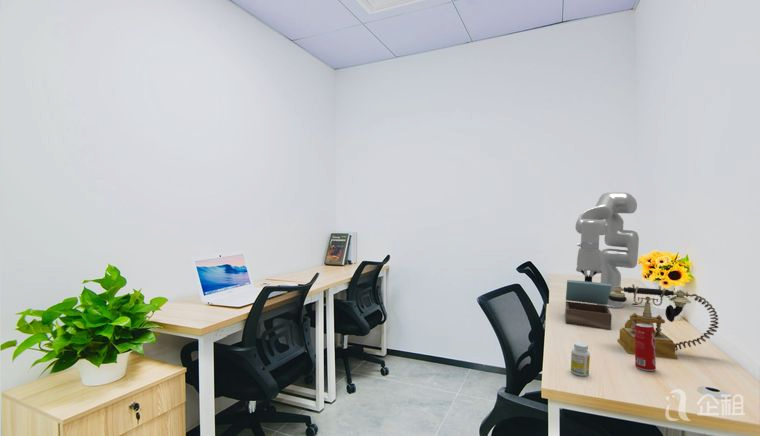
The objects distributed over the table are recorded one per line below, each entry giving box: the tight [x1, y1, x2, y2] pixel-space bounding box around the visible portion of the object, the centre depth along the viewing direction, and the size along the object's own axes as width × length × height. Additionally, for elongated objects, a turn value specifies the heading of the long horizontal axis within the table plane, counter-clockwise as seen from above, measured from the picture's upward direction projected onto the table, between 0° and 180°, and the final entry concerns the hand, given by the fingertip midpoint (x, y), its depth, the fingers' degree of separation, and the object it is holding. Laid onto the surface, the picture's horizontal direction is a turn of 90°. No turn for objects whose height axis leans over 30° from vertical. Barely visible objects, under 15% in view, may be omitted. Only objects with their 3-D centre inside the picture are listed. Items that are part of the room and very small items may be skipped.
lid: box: [565, 279, 611, 305], centre depth 181 cm, size 16×18×1 cm
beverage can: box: [634, 323, 657, 372], centre depth 129 cm, size 6×6×15 cm
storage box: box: [564, 300, 613, 331], centre depth 179 cm, size 16×18×7 cm
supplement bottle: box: [570, 341, 591, 377], centre depth 125 cm, size 5×5×10 cm
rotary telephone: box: [609, 283, 719, 360], centre depth 146 cm, size 35×18×25 cm, turn 73°
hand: (588, 284), depth 179 cm, fingers closed
